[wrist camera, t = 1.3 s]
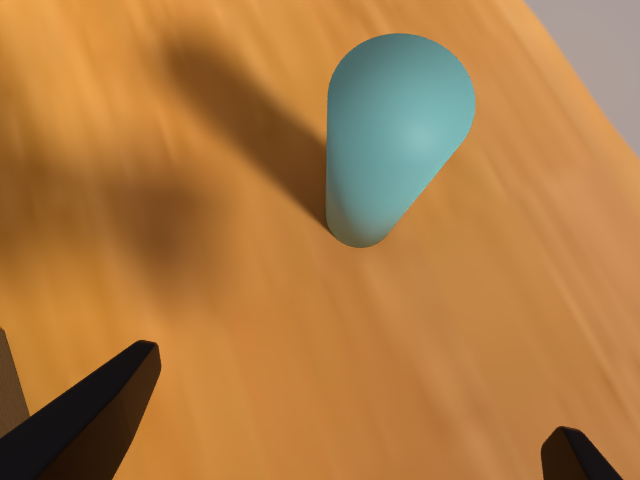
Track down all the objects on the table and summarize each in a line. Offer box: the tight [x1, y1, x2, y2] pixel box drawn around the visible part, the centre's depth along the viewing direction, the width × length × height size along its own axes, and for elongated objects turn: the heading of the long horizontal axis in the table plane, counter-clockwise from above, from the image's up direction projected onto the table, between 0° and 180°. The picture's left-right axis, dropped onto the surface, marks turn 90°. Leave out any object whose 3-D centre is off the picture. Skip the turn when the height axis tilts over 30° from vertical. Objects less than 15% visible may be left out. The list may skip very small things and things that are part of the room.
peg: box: [325, 33, 475, 248], centre depth 17 cm, size 4×4×13 cm
